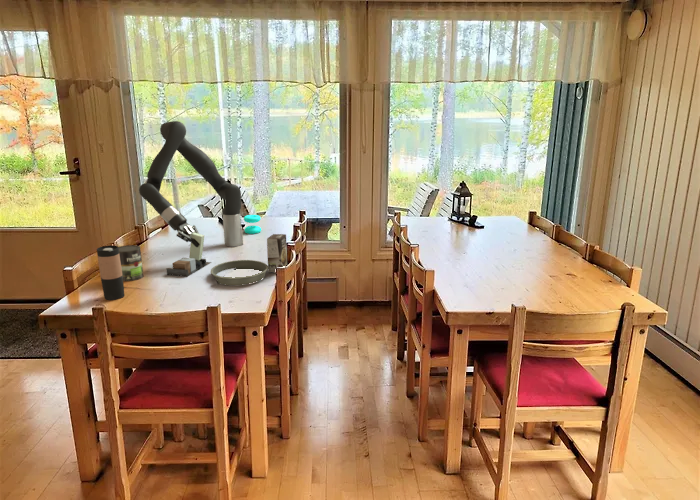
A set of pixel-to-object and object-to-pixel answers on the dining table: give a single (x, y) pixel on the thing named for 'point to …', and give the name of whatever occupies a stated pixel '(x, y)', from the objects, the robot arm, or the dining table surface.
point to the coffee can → (131, 262)
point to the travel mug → (110, 272)
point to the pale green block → (197, 251)
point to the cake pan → (239, 265)
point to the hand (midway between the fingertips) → (200, 245)
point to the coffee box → (276, 251)
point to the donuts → (252, 220)
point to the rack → (184, 272)
